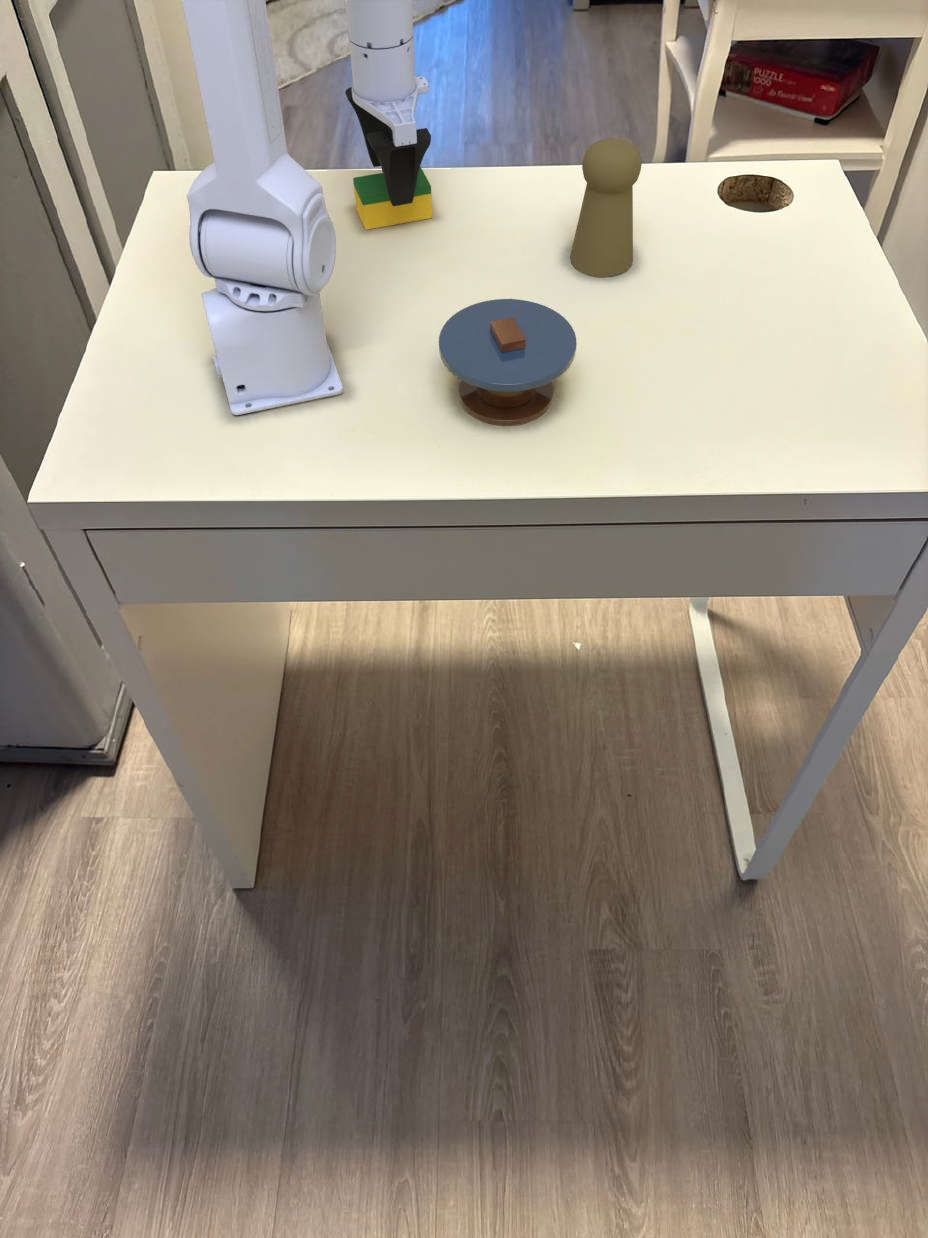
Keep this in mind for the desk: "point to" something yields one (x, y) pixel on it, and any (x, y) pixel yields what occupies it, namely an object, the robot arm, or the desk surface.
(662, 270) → the desk surface
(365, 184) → the sponge
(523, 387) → the blue-grey round pedestal
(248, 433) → the desk surface
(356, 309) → the desk surface
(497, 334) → the brown flat block
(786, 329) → the desk surface
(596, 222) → the olive chess pawn
